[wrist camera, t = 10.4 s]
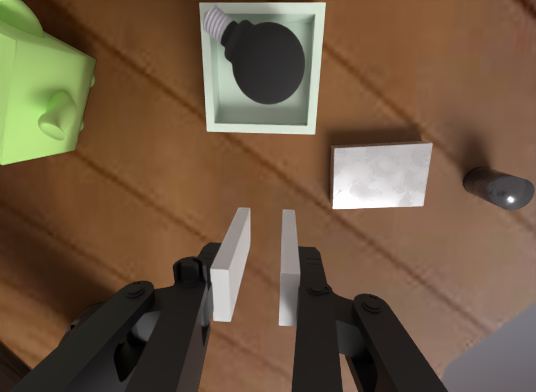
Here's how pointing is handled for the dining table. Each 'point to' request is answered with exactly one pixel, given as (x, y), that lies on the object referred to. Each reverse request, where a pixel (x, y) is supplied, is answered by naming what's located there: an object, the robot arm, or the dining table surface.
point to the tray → (229, 94)
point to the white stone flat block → (379, 174)
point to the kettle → (39, 87)
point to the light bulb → (259, 56)
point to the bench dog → (499, 188)
